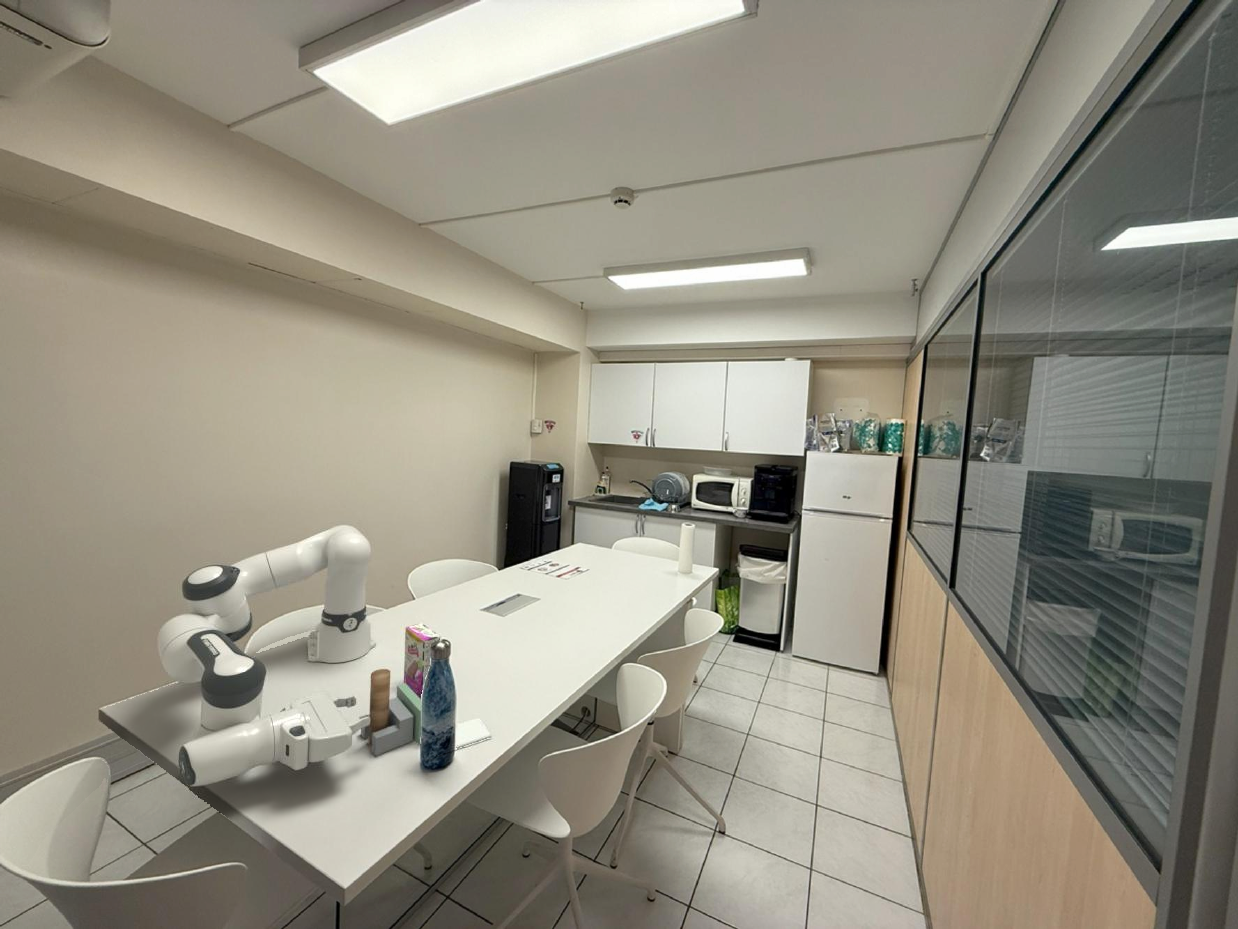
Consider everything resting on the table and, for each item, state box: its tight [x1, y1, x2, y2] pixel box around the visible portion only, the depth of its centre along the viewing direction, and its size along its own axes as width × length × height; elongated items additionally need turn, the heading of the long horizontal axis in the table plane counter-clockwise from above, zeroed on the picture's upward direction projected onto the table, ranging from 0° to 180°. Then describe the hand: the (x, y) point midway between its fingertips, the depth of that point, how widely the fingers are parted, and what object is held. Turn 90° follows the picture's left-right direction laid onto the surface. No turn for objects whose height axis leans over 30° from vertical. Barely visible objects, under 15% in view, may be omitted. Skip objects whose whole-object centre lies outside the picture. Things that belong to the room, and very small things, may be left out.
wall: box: [396, 682, 423, 746], centre depth 116 cm, size 14×2×8 cm, turn 45°
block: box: [360, 696, 414, 757], centre depth 112 cm, size 10×8×6 cm
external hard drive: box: [456, 717, 492, 750], centre depth 115 cm, size 2×8×12 cm
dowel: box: [368, 668, 391, 747], centre depth 111 cm, size 4×4×16 cm
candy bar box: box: [403, 622, 441, 699], centre depth 134 cm, size 11×5×16 cm, turn 48°
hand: (362, 709), depth 108 cm, fingers open, 8 cm apart
